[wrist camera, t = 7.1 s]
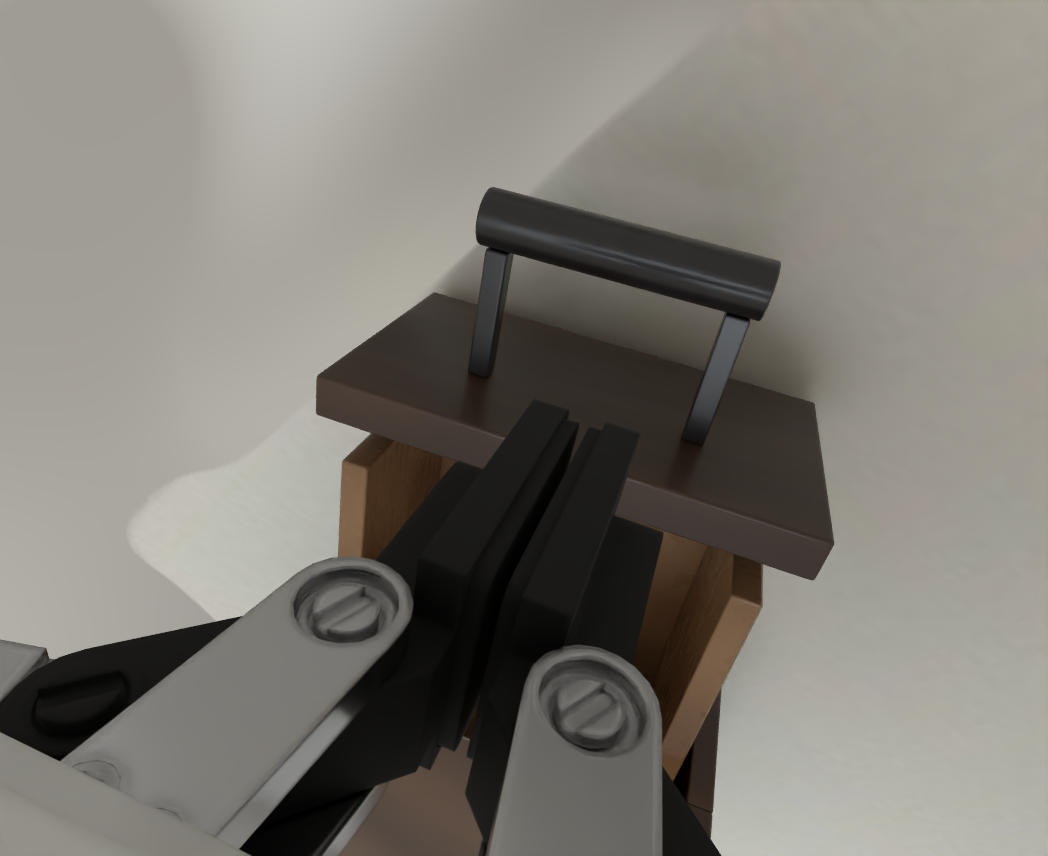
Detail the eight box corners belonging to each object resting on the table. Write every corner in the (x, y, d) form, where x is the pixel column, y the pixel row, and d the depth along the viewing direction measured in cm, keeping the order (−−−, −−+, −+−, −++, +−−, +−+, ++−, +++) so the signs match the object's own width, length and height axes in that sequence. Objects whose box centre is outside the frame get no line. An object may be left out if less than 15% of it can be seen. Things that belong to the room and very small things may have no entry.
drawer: (450, 139, 21) (318, 174, 15) (887, 247, 18) (947, 342, 12) (402, 576, 30) (309, 708, 24) (685, 681, 28) (663, 856, 22)
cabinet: (404, 504, 29) (278, 661, 22) (726, 617, 27) (711, 838, 19) (382, 713, 37) (283, 883, 29) (632, 815, 35) (594, 1030, 27)
